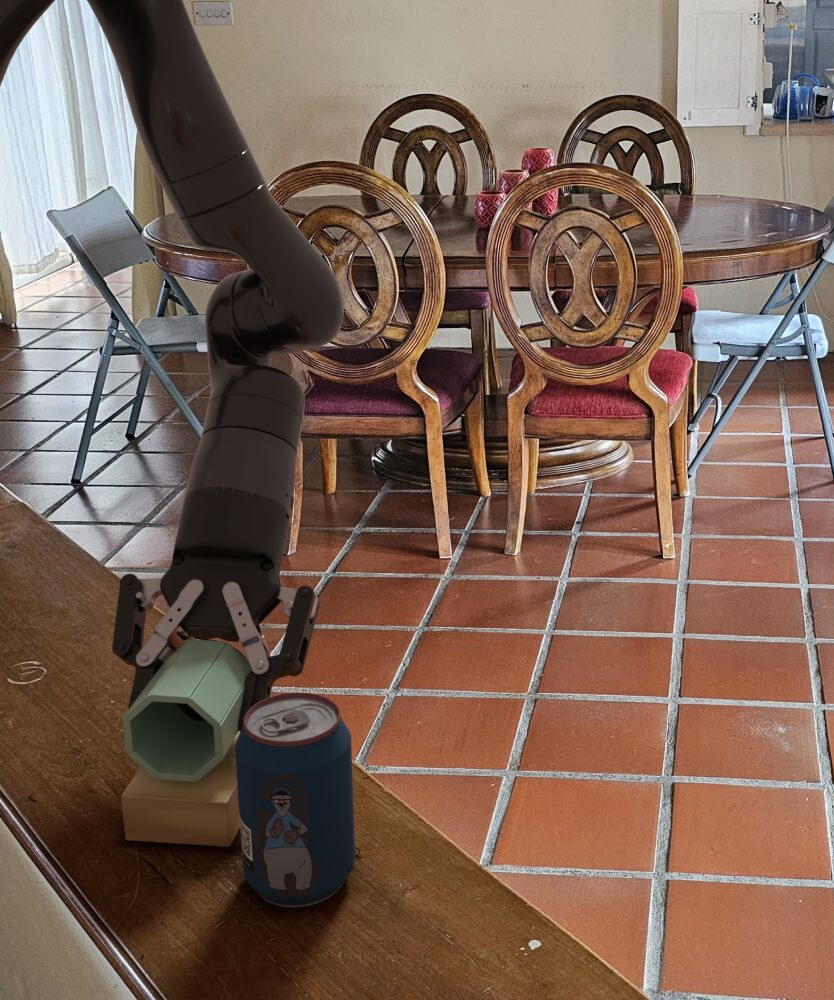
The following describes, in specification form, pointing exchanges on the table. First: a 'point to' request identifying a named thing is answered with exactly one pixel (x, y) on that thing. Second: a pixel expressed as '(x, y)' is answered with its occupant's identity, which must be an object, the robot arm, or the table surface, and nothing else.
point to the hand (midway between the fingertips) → (195, 728)
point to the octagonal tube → (188, 711)
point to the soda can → (295, 799)
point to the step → (184, 807)
